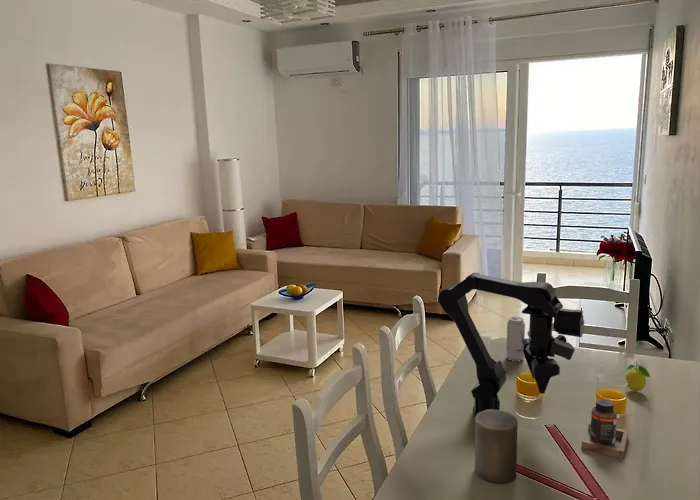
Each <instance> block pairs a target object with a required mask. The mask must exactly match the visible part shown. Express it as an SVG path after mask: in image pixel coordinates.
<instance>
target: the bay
mask: <svg viewBox="0 0 700 500" xmlns="http://www.w3.org/2000/svg"><path fill="white" fill-rule="evenodd" d="M587 427H588V429H587V431H588V432H590V429H591V421H589V422H588V426H587ZM616 438H618V439H621V441H620V446H619V448H618V447H615V446H613V447H611V446H607V445H603V444H599V443H595V442H591V441H590V440H586V439H582V440H581V449H582V450H586V451H590V452H594V453H596V454H597V453H598V454H602V455H606V456H608V457H611V458H612V457H613V458H618V459H621V460H624V457H625V454H626V453H625V452H626V449H627V444H628V439H629V430H625V429H619V428H617V427H616Z"/></svg>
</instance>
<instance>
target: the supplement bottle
mask: <svg viewBox="0 0 700 500" xmlns="http://www.w3.org/2000/svg"><path fill="white" fill-rule="evenodd" d="M617 420H618V414H617V411H616V409H614V402H613V401H612V400H609V399H605V398H599V399H597V400H596V403H595V406H594V407H593V408H592V409H591V416H590V422H591V429H590V431H589V432H590V433H589V441H591V442H595V443H599V444H603V445H607V446H611V447H615V445H616V438H617V437H616V428H617V422H618V421H617Z"/></svg>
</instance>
